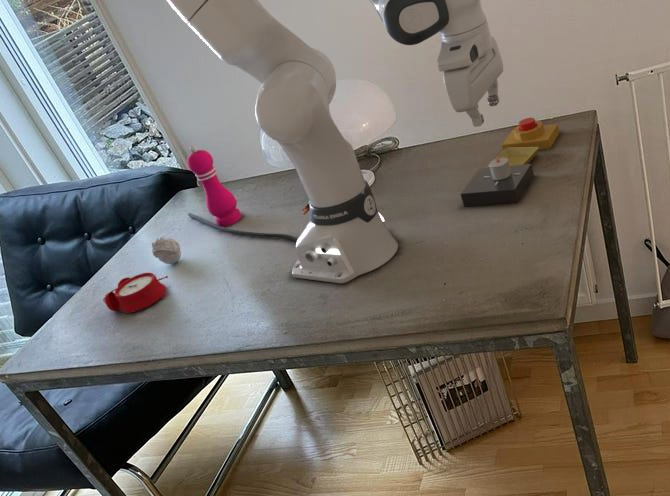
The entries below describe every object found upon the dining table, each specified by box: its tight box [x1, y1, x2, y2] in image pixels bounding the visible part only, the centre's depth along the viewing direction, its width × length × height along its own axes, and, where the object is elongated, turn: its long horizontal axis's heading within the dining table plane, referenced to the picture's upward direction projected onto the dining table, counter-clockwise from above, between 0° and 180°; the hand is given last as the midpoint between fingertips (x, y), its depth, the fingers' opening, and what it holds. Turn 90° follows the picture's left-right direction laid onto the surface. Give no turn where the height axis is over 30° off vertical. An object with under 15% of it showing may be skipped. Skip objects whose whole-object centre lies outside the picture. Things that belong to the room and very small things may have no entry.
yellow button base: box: [501, 119, 560, 151], centre depth 169 cm, size 11×8×4 cm
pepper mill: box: [186, 144, 243, 228], centre depth 180 cm, size 7×7×20 cm
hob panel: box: [460, 163, 535, 208], centre depth 154 cm, size 12×11×3 cm
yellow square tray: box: [487, 147, 539, 168], centre depth 163 cm, size 9×9×2 cm
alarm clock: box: [102, 272, 168, 314], centre depth 162 cm, size 10×6×15 cm
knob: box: [488, 156, 511, 180], centre depth 152 cm, size 4×4×3 cm
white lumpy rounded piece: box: [151, 236, 182, 265], centre depth 173 cm, size 6×7×7 cm
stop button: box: [518, 117, 536, 131], centre depth 167 cm, size 4×4×2 cm
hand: (487, 114), depth 146 cm, fingers open, 8 cm apart
